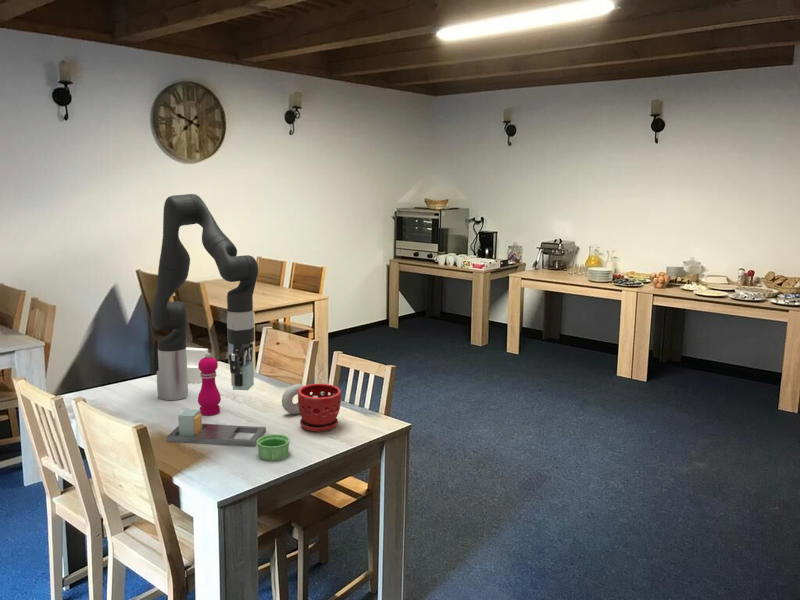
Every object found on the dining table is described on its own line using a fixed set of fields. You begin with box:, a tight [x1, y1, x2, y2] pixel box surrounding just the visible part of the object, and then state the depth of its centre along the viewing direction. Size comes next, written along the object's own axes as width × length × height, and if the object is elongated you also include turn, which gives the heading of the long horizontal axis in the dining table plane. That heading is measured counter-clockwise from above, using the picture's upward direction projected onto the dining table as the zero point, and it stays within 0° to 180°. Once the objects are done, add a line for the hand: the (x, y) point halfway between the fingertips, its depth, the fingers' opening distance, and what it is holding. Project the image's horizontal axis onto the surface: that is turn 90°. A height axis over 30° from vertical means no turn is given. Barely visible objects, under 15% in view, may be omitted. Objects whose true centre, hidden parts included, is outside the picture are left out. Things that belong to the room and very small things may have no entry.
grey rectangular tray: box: [166, 423, 267, 448], centre depth 193 cm, size 26×11×2 cm, turn 84°
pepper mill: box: [197, 352, 222, 416], centre depth 211 cm, size 7×7×20 cm
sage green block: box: [177, 408, 203, 436], centre depth 193 cm, size 5×5×7 cm
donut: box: [281, 383, 305, 415], centre depth 212 cm, size 10×4×10 cm, turn 126°
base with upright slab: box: [186, 346, 209, 385], centre depth 244 cm, size 9×9×12 cm
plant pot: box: [297, 383, 342, 433], centre depth 201 cm, size 13×13×12 cm
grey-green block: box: [230, 361, 255, 391], centre depth 189 cm, size 5×5×7 cm
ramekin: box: [256, 433, 291, 461], centre depth 181 cm, size 9×9×4 cm
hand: (242, 382), depth 189 cm, fingers closed on grey-green block, 5 cm apart
